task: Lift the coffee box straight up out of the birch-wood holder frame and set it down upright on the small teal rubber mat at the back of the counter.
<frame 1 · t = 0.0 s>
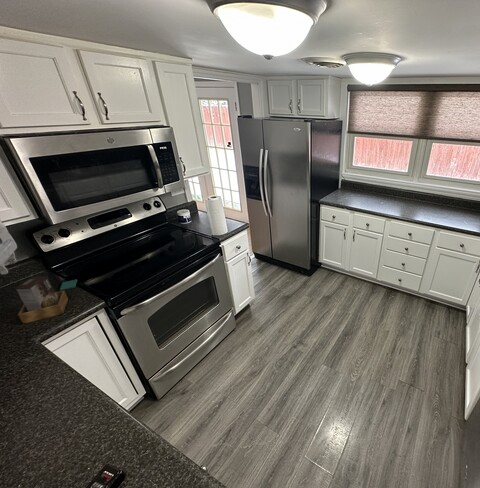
hand: (9, 268, 105), 27 cm above the worktop, tool pointing down, fingers open, 8 cm apart
coffee box: (47, 310, 123), resting in holder
mat: (69, 285, 141), on the worktop
holder: (47, 310, 123), on the worktop
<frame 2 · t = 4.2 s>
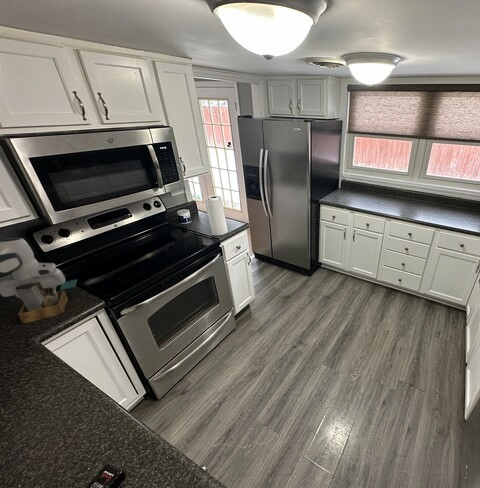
hand: (40, 297, 120), 7 cm above the worktop, tool pointing down, fingers closed on coffee box, 8 cm apart
coffee box: (47, 310, 123), resting in holder, touching gripper
when the fingers open (8 cm above the worktop, at t = 13.1 s): coffee box stays where it is, resting on mat.
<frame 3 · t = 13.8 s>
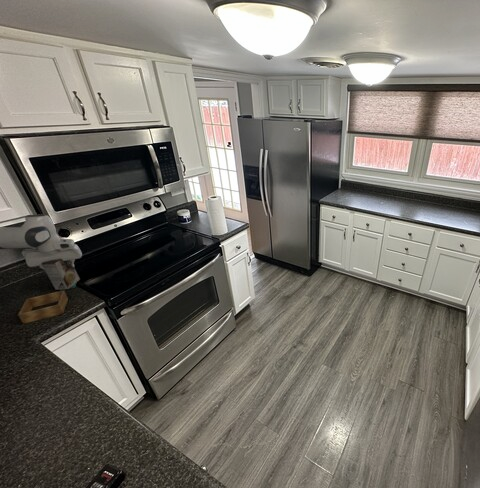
hand: (60, 269, 137), 10 cm above the worktop, tool pointing down, fingers open, 8 cm apart
coffee box: (68, 284, 141), resting on mat, touching gripper
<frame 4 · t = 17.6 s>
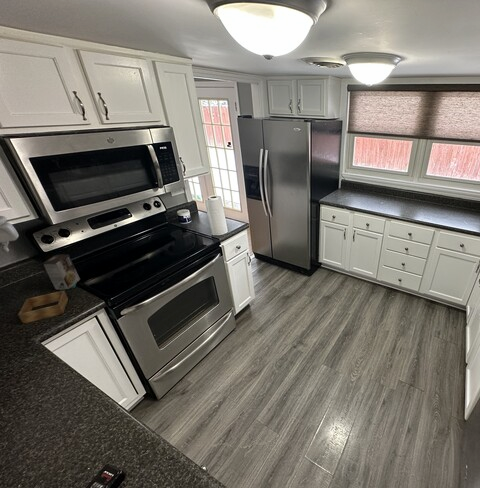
coffee box: (68, 284, 141), resting on mat
at the end: coffee box inside the target area on the mat (0.2 cm from its centre), point 0.4 cm above the mat's base; coffee box tilted 0°; coffee box touching mat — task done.
